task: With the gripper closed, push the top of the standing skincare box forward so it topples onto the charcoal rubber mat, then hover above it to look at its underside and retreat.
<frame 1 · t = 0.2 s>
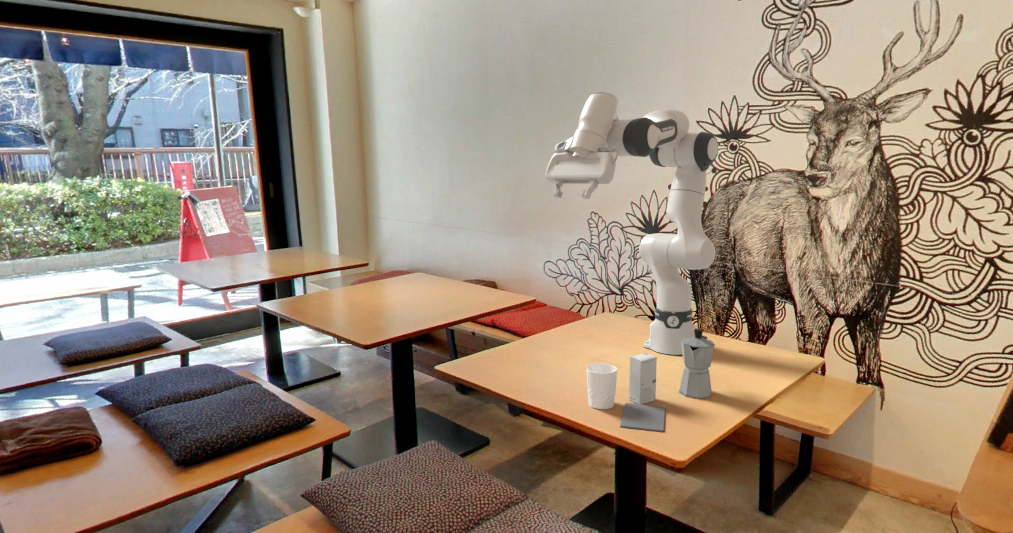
hand: (570, 197, 151), 54 cm above the table, tool tilted 30°, fingers open, 8 cm apart
coffee maker: (696, 392, 162), on the table
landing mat: (643, 417, 146), on the table
white cup: (601, 405, 154), on the table
skincare box: (642, 400, 156), on the table
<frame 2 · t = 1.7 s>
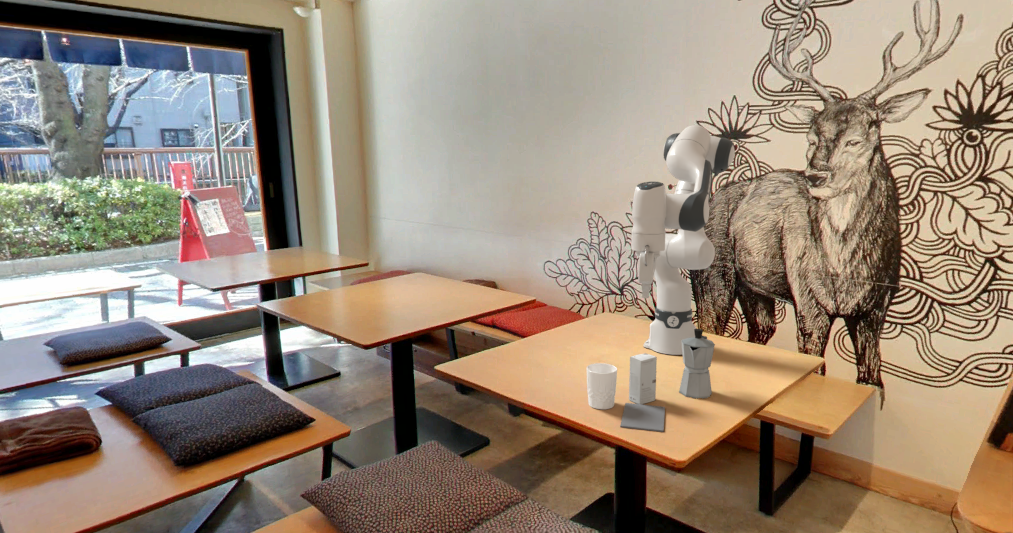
hand: (646, 293, 159), 27 cm above the table, tool pointing down, fingers open, 8 cm apart
nothing on the table moved.
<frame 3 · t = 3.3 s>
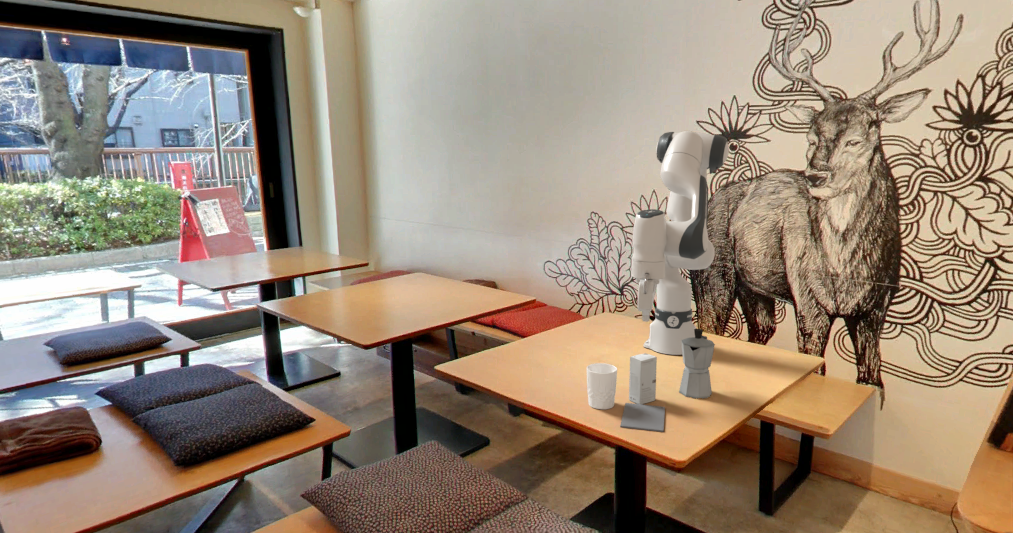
hand: (645, 320, 160), 20 cm above the table, tool pointing down, fingers closed
nothing on the table moved.
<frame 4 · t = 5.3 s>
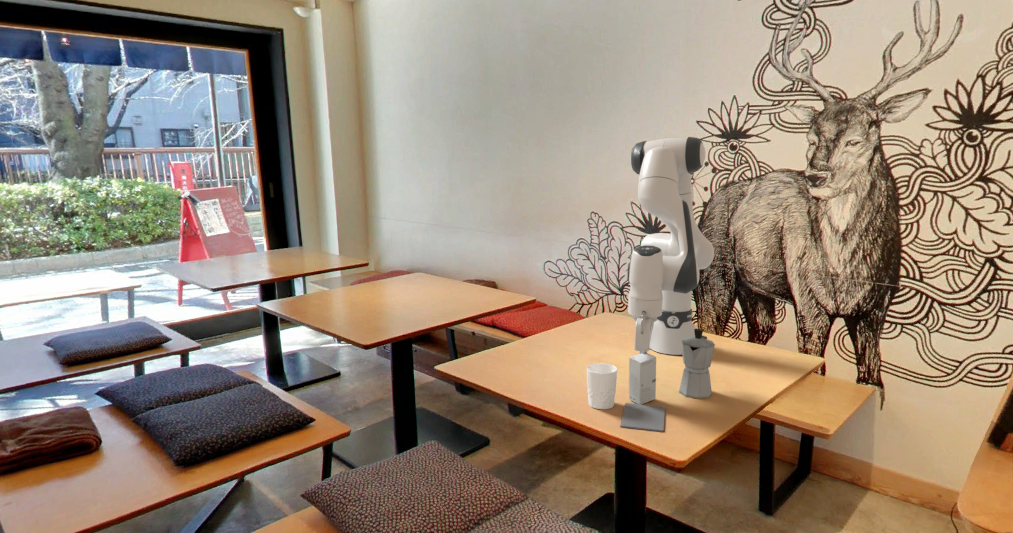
hand: (643, 357, 158), 11 cm above the table, tool pointing down, fingers closed
skincare box: (642, 399, 156), on the table, touching gripper
everything else where it was.
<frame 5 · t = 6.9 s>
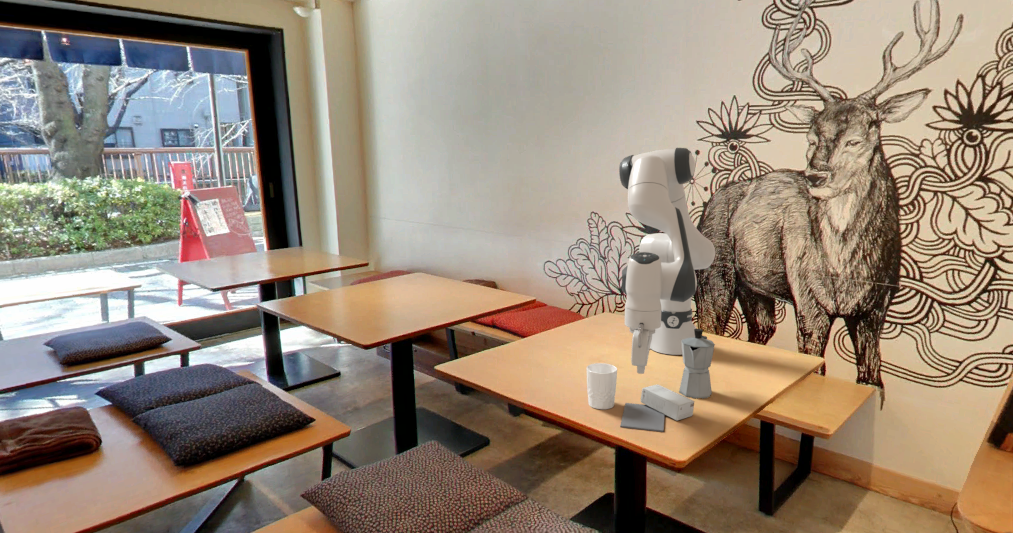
hand: (640, 371, 148), 10 cm above the table, tool pointing down, fingers closed
skincare box: (648, 391, 154), point 3 cm above the table, touching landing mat
everything else where it was.
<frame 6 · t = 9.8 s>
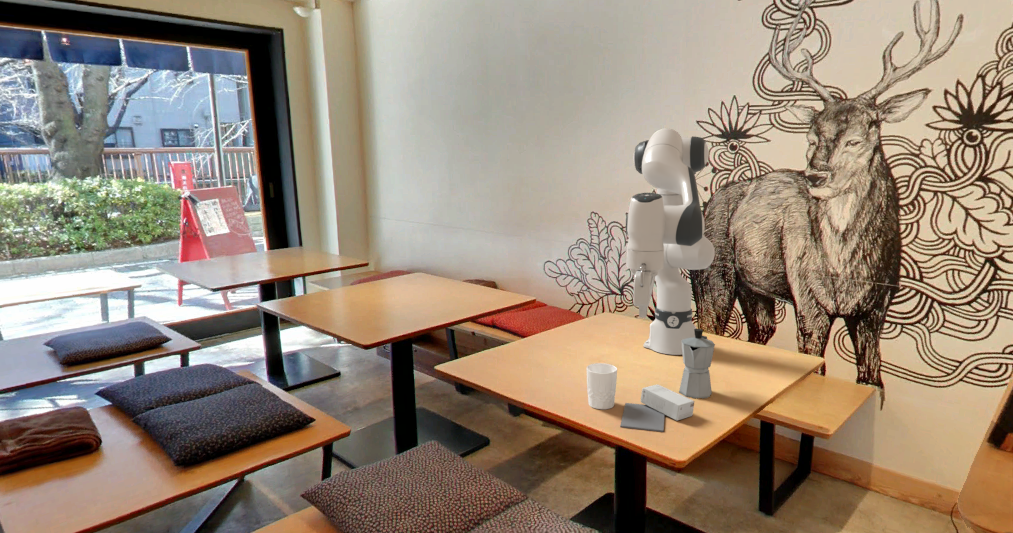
hand: (643, 316, 145), 25 cm above the table, tool pointing down, fingers closed
nothing on the table moved.
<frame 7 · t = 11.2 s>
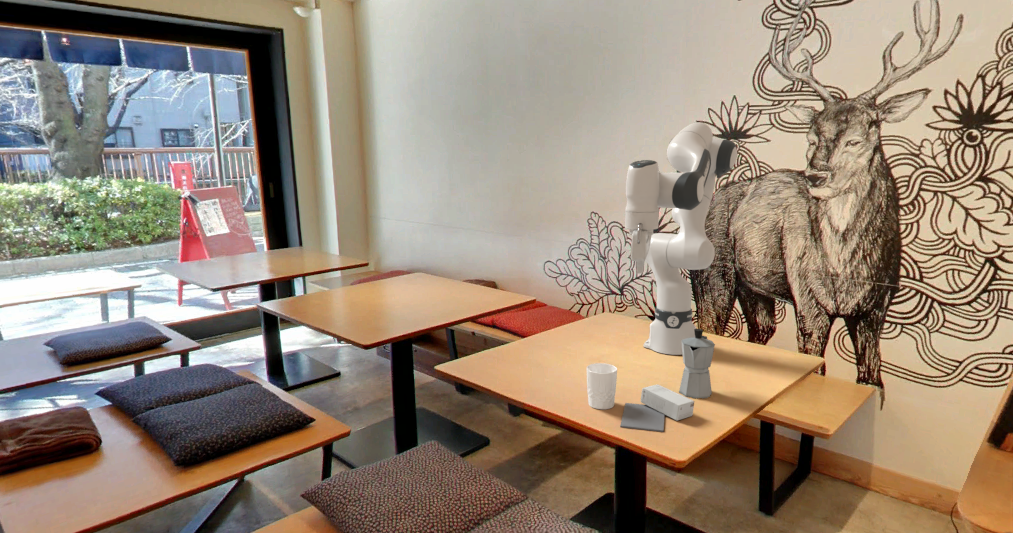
hand: (640, 272, 160), 33 cm above the table, tool pointing down, fingers closed
nothing on the table moved.
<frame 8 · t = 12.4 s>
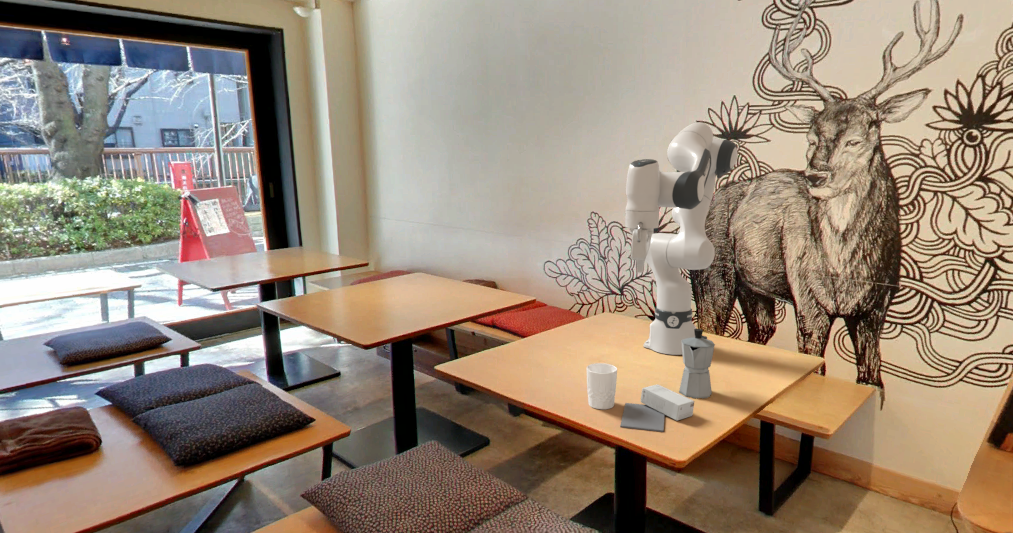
hand: (640, 271, 160), 33 cm above the table, tool pointing down, fingers closed
nothing on the table moved.
at the end: skincare box tilted 95°; skincare box touching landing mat, table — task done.
